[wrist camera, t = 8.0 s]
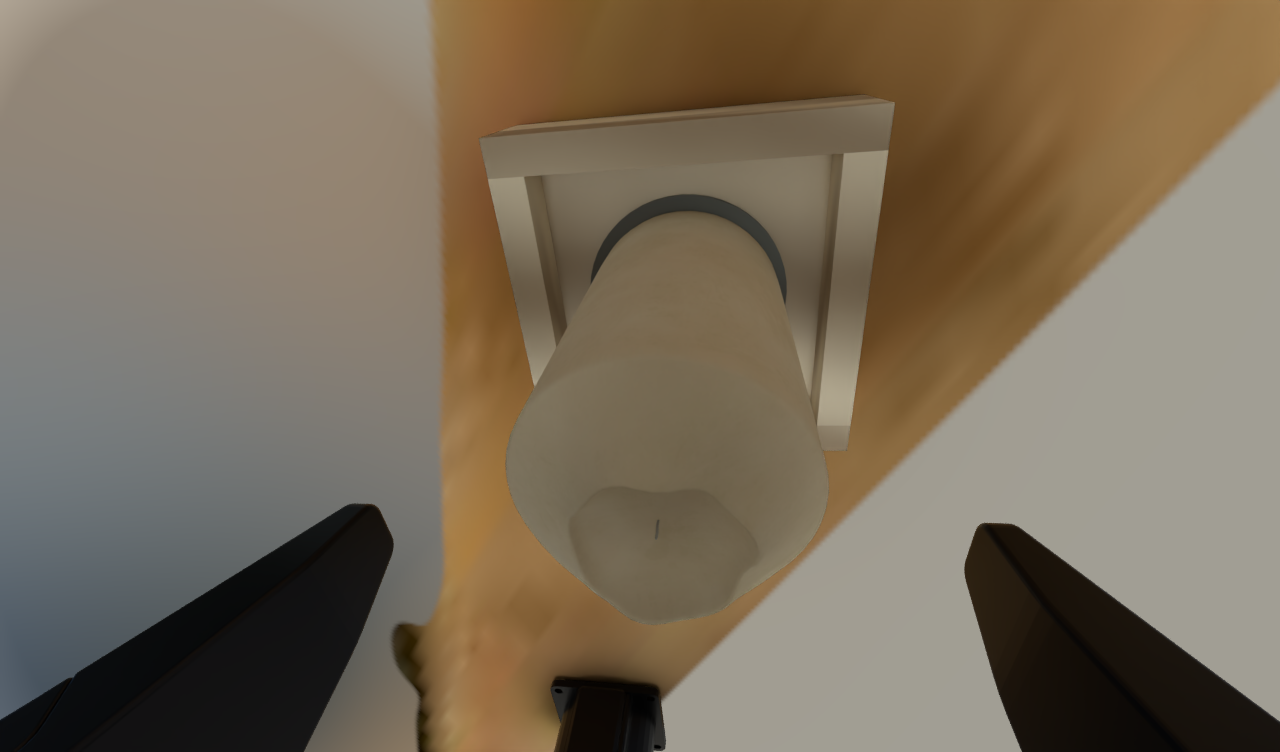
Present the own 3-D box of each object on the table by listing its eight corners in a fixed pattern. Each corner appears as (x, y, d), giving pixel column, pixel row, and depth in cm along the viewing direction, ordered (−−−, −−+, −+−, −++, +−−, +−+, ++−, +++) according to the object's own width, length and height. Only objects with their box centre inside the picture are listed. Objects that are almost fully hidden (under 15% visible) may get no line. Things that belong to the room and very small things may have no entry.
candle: (575, 232, 16) (405, 443, 7) (763, 186, 14) (829, 379, 6) (626, 387, 18) (546, 675, 10) (789, 360, 17) (860, 667, 8)
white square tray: (830, 399, 20) (847, 451, 17) (568, 400, 21) (547, 447, 19) (864, 94, 14) (895, 102, 12) (516, 125, 16) (478, 138, 14)
